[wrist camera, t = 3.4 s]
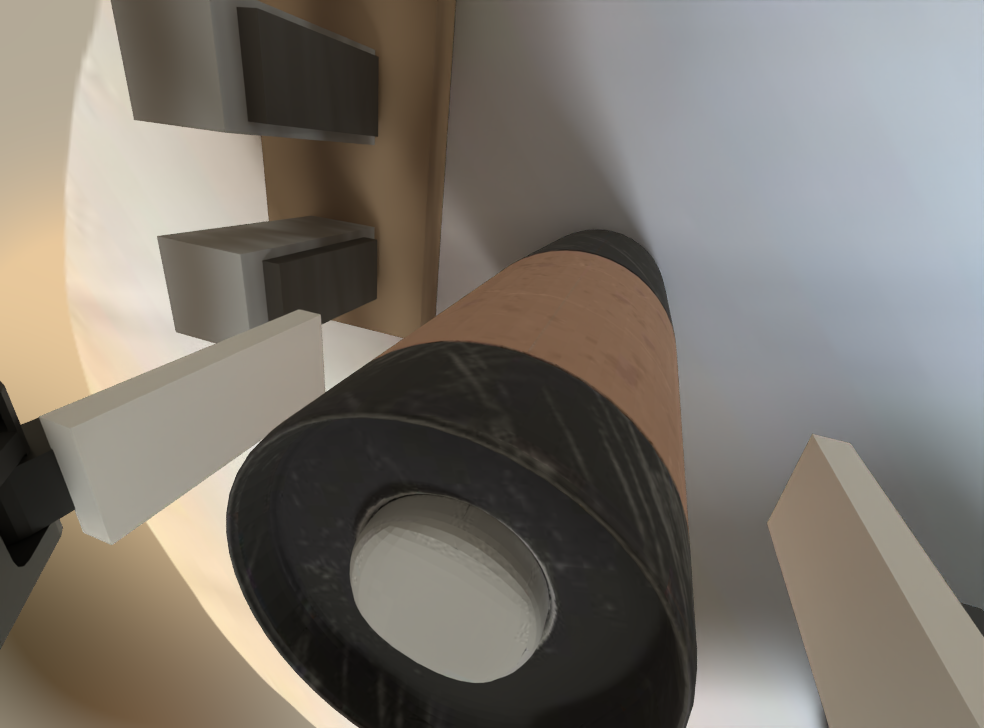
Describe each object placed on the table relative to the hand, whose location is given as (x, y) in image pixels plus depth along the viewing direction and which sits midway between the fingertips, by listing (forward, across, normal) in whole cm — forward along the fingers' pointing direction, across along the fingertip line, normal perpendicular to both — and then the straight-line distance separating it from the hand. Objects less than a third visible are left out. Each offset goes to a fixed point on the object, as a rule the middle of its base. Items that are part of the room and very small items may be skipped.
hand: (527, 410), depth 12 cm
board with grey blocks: (+14, +14, -9) cm, 21 cm away
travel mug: (+14, 0, 0) cm, 14 cm away
